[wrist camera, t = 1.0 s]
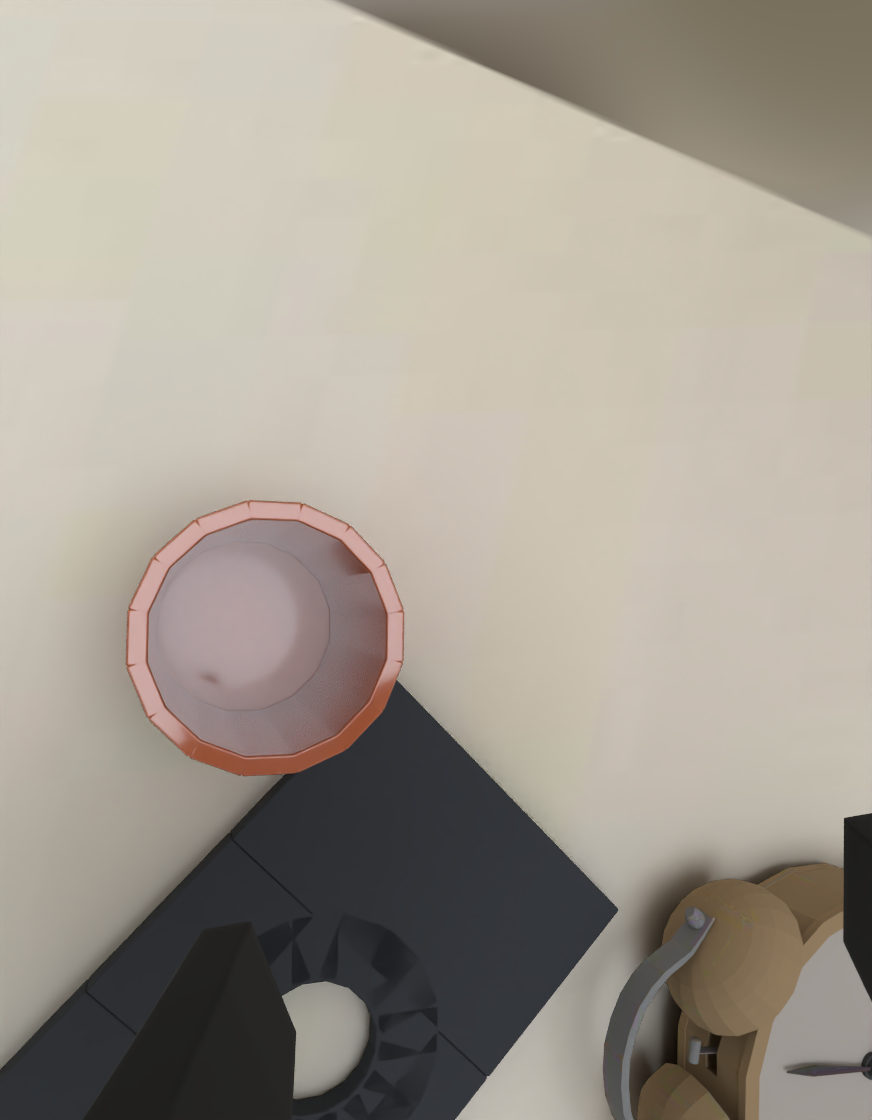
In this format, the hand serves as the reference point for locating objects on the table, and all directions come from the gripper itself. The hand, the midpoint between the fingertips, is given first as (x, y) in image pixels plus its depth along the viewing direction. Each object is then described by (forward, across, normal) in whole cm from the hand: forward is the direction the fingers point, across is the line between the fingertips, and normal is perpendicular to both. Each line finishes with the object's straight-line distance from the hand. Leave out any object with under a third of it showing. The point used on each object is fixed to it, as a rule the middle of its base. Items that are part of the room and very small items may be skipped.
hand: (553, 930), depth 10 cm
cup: (+14, +7, +2) cm, 16 cm away
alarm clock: (+12, -6, +20) cm, 24 cm away
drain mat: (+10, +7, +12) cm, 17 cm away
